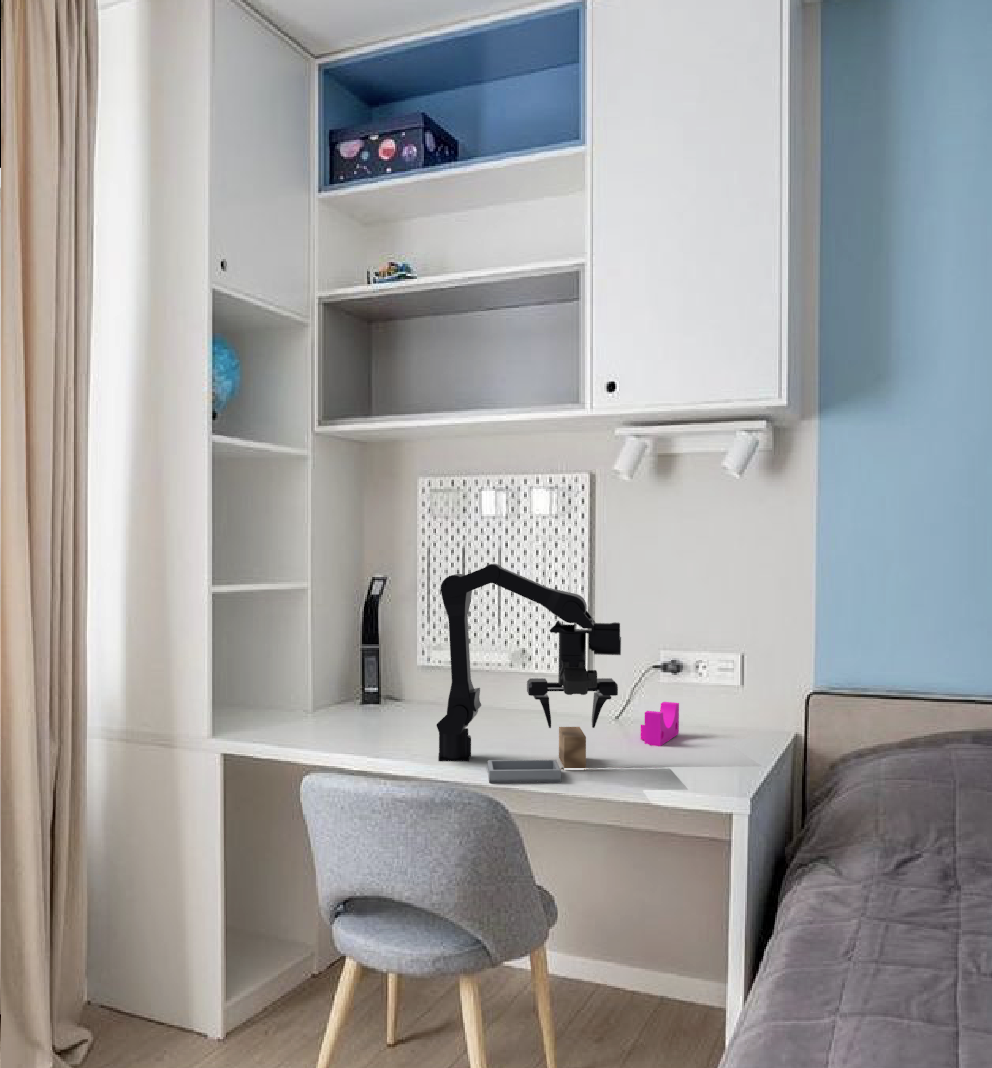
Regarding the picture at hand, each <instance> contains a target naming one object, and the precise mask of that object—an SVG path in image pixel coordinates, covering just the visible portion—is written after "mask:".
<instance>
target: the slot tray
mask: <svg viewBox="0 0 992 1068" xmlns="http://www.w3.org/2000/svg"><path fill="white" fill-rule="evenodd" d="M487 775H488V783H489V784H525V783H526V784H534V783H536V784H537V783H538V784H539V783H540V784H541V783H543V784H545V783H562V769H561V768H560V765H559V762H558V761H557V759H488V760H487Z"/></svg>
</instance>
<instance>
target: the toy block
mask: <svg viewBox="0 0 992 1068" xmlns="http://www.w3.org/2000/svg"><path fill="white" fill-rule="evenodd" d="M659 710H660V711H654V710H646V711H644V724H640V740H643V741H644V744H645V745H649V746H653V747H654V746H655V747H661V746H663V745H664V744H665V743H666V744H667V742H669V741H670V740H671V739H673V738H675V737H676V736H677V735H679V733H680V703H679V702H672V701H663V702H661V703H660V709H659Z"/></svg>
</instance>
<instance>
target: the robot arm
mask: <svg viewBox="0 0 992 1068" xmlns="http://www.w3.org/2000/svg"><path fill="white" fill-rule="evenodd" d="M489 584H494V585H495V586H498V587H500V588H503V589H505V590H507V591H509V592H512V593H515V594H517V595H519V596H520V597H522V598H525V599H527V600H530V601H532V602H534V603H536V604H540V605H541V606H543V607H544V608H546V609H547V610H548V611H549V612H550V613H552V614H553V615H555V616H556V617H558V618H559V619H561V620H562V621H564V622H566V623H568V624H565V623H564V624H563V623H562V622H561V621H560V620H557V621H556V622H555V624H554V625H553V626H552V627H551V628H550V629H549V632H550V633H552V634H553V633H555V634H556V633H557V634H558V675H557V676H558V680H557V681H558V682H548V680H547V679H546V678H531V677H529V678H528V680H526V692H527V694H528V696H531V697H533V698H534V700H539V702H540V705H541V706H542V710H543V713H544V716H545V720H546V723H547V725H548V728H549V729H551V728H552V716H551V706H550V697H549V695H548V694H549V693H548V692H563V693H564V694H565V695H569V696H572V695H581V696H586V695H587V694H588V693H589V692H593V701H592V713H591V728H592V729H595V728H596V725H597V723H598V719H599V715H600V713H601V710H602V708H603V706H604V704H606V701H607V700H612V696H615V697H616V696H618V695H619V686H618V683H617V682H616V681H615V680H614V679H613V678H610V677H609V678H604V677H602V678H599V677H598V672H597V670H596V669H588V670H587V667H586V665H587V663H586V661H587V659H586V658H587V656H586V654H587V653H586V652H587V651H586V650H587V648H586V647H587V645H586V644H587V634H588V650H591V652H593V655H595V656H596V655H598V656H599V655H600V656H601V655H602V656H621V655H622V637H621V623H620V622H611V623H610V622H607V623H605V622H602V623H601V622H596V621H595V620H594V618H593V617H592V615H590V614H591V613H589V612H588V610H587V609H588V608H587V607H588V606H587V602H586V600H585V598H584V597H583V596H581V595H580V594H578V593H573V592H570V591H566V590H561V589H555V588H551V587H548V586H545V585H543V584H540V583H539V582H536V581H533V580H532V579H529V578H528V577H525V576H522V575H520V574H518V573H515V572H514V571H511V570H508V569H506V568H504V567H503V566H502V565H499V564H498V563H490V564H488V565H487V564H486V565H485V566H484V567H483V568H480V569H477V570H474V571H473V572H470V573H466V574H463V573H455V574H452V575H449V576H447V577H445V578H444V580H442V582H441V584H440V595H441V598H442V603H443V606H444V609H445V612H446V615H447V619H448V631H449V632H448V633H449V650H450V652H449V653H450V654H449V656H450V671H451V673H450V674H451V685H450V690H449V693H448V700H447V707H446V714H445V715H444V717H442V718H441V719H440V720H439V721H438V722H437V724H436V728H437V731H438V759H437V760H438V762H469V761H470V758H471V757H472V736H471V735H470V734H469V728H467V727H468V726H469V724H470V723H471V722H472V721H473V720H474V718H475V717H476V716H477V715H478V712H479V709H480V708H481V707H482V703H481V700H480V694H481V688H480V687H476V688H475V687H474V685H473V681H472V678H471V677H472V676H471V657H470V656H471V655H470V653H471V652H470V639H469V638H470V637H469V619H468V618H469V617H468V616H469V611H470V607H471V602H472V592H473V590H476V589H479V588H482V587H484V586H487V585H489ZM576 625H577V626H579V627H580V628H576V627H577V626H576ZM581 628H582V629H581Z"/></svg>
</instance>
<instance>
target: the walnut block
mask: <svg viewBox="0 0 992 1068" xmlns="http://www.w3.org/2000/svg"><path fill="white" fill-rule="evenodd" d="M558 759H559V761H560V762H561V765H562V768H563V767H564V768H586V769H587V737H586V734H585V733H584V731H583V729H582V728H581V727H580V726H558Z"/></svg>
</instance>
